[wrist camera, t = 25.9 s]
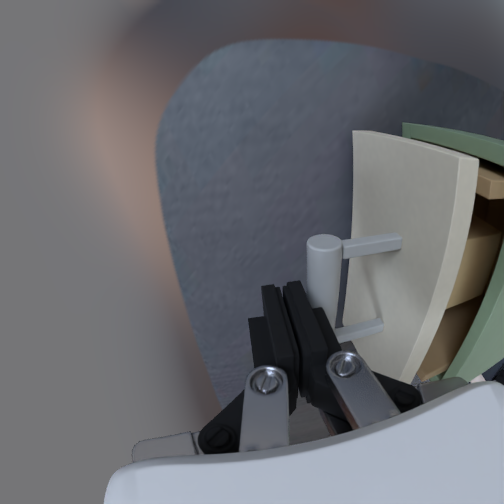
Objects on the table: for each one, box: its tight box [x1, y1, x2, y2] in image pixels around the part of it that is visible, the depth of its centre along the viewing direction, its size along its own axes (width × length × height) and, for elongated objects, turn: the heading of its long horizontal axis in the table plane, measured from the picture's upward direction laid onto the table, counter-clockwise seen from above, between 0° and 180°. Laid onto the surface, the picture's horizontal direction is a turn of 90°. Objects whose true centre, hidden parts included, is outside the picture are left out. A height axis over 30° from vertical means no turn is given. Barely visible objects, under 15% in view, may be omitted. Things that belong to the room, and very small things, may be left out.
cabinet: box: [402, 123, 504, 383], centre depth 13 cm, size 15×15×10 cm
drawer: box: [307, 130, 504, 384], centre depth 13 cm, size 18×14×8 cm
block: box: [446, 214, 502, 309], centre depth 13 cm, size 4×4×4 cm
